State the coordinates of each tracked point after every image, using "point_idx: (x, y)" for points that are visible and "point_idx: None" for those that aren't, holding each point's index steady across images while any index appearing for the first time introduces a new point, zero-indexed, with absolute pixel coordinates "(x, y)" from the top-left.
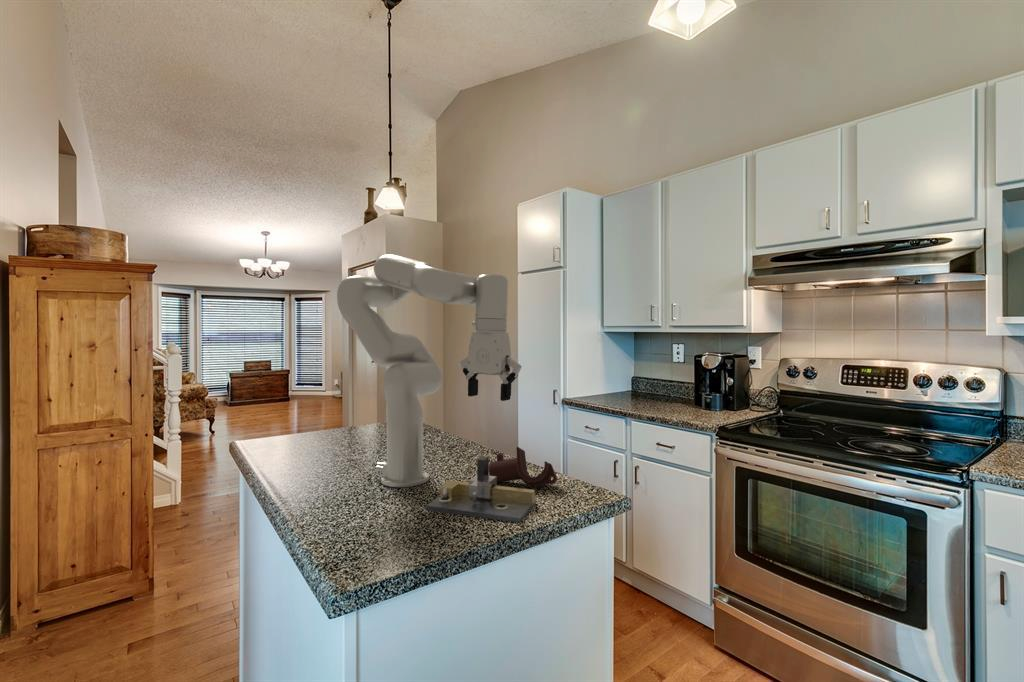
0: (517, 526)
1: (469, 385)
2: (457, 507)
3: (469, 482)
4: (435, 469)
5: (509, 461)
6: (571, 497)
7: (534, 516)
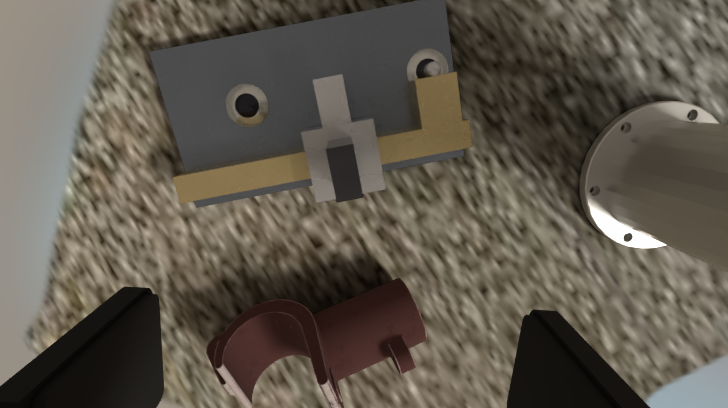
0: (147, 28)
1: (598, 376)
2: (353, 30)
3: (371, 118)
4: (622, 307)
5: (351, 338)
6: None
7: (151, 118)
